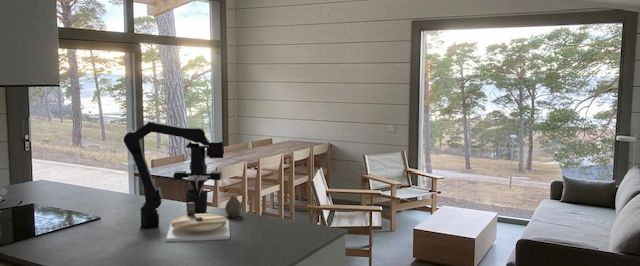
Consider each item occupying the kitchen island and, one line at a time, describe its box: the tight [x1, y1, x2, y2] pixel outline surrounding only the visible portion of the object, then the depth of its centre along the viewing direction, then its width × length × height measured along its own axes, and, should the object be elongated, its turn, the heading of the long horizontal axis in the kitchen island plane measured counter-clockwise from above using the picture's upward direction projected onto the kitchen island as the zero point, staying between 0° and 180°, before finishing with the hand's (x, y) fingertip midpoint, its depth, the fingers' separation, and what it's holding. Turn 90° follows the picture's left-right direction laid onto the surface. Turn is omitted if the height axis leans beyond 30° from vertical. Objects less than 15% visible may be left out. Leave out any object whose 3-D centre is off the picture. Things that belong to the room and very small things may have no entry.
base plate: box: [165, 219, 231, 243], centre depth 205 cm, size 23×23×1 cm
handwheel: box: [171, 202, 227, 231], centre depth 205 cm, size 22×21×8 cm
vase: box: [225, 195, 242, 218], centre depth 229 cm, size 7×7×9 cm
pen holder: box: [185, 188, 208, 214], centre depth 234 cm, size 9×9×10 cm
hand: (198, 196), depth 214 cm, fingers closed
